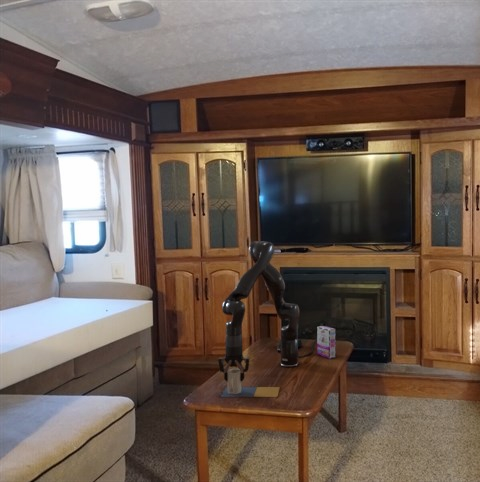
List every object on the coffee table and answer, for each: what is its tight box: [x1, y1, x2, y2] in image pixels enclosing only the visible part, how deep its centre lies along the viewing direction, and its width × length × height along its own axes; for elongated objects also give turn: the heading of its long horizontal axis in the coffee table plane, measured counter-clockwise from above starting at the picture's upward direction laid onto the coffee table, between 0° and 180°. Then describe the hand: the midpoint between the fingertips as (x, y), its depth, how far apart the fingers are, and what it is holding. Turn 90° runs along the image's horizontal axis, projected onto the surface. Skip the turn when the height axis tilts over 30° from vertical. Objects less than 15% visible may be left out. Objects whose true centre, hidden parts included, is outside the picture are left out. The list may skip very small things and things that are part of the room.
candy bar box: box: [316, 325, 337, 360], centre depth 250 cm, size 11×5×16 cm, turn 41°
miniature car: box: [276, 338, 303, 352], centre depth 263 cm, size 9×18×8 cm, turn 156°
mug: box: [226, 368, 242, 394], centre depth 196 cm, size 9×6×10 cm
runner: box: [220, 386, 281, 398], centre depth 197 cm, size 11×25×1 cm, turn 90°
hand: (234, 380), depth 197 cm, fingers closed on mug, 6 cm apart
